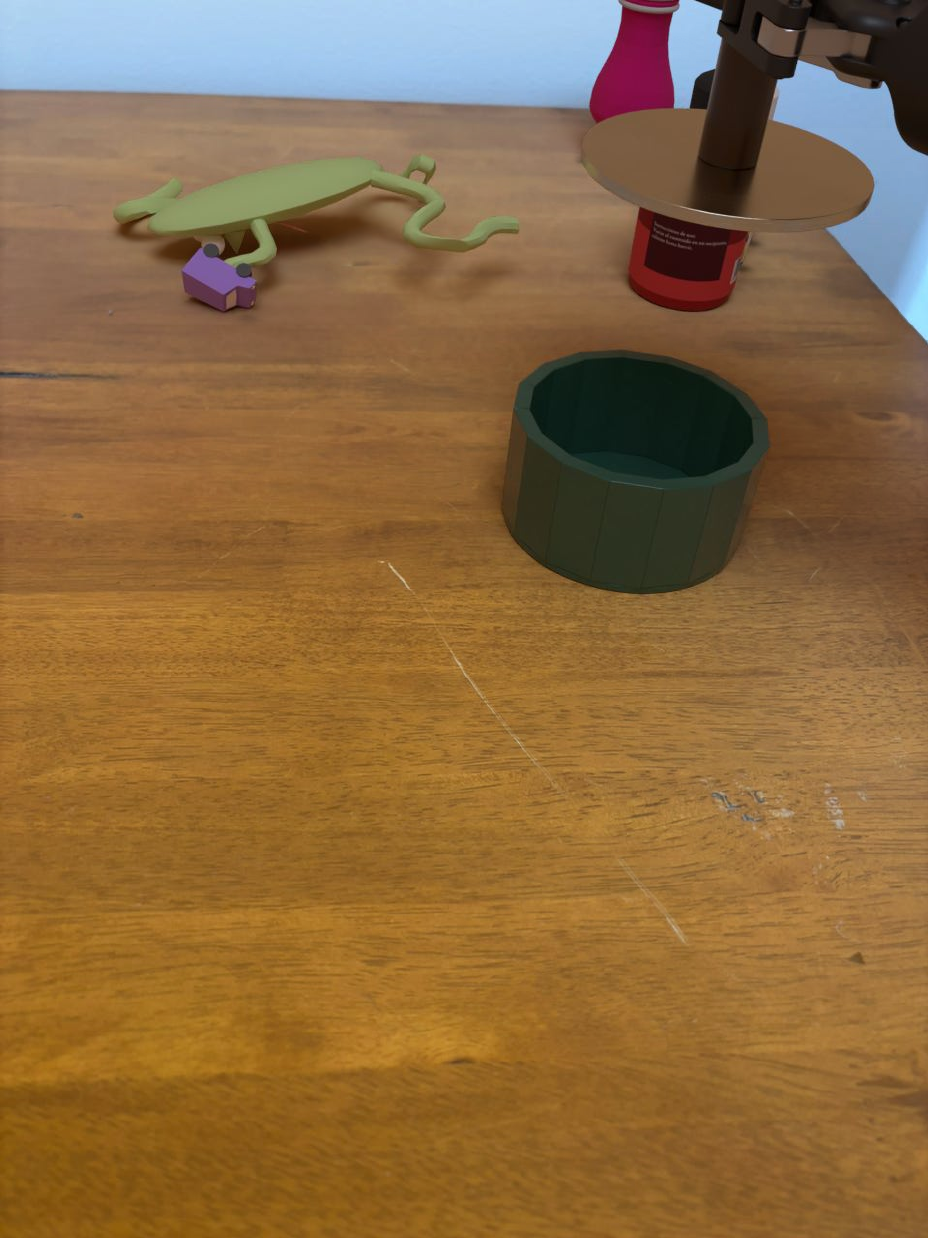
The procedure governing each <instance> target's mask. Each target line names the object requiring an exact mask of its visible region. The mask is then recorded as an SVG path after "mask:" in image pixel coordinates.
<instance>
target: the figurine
mask: <svg viewBox="0 0 928 1238" xmlns="http://www.w3.org/2000/svg"><path fill="white" fill-rule="evenodd" d="M435 161H436V160H435V159H434V158H432V157H429V156H426V155H425V154H422V153H420V154H417V155H414V156H413V157H412V158H411V160H410V161H409V163H408V165H407V167H406V168H405V170H404V171H402V172H401V173H400V174H395V173H390V172H388V171H386V170H385V169H383V165H381V164H380V163H379V162H377V161H376V160H374V159H371V158H370V159H369V158H363V157H361V156H354V157H335V158H321V159H312V160H306V161H300V162H294V163H289V164H284V165H283V164H282V165H277V166H273V167H268V168H265V169H262V170H257V171H253V172H250V173H246V174H243V175H239V176H234V177H232V178H228V179H226V180H223V181H220V182H218V183H214V184H212V185H209V186H205V187H203V188H200V189H198V190H195V191H194V192H191V193H189V194H187V195H185V196H182V197H181V198H177V197H179V196H180V195H181V194H182V193H183V189H184V186H183V183H182V181H181V180H180V179H179V178H178V177H176V176H174V177H172V178H171V179H170V180H169V181H168V182H167V183H166V184H165V185H163V186H162V187H160V188H159V189H157V190H156V191H153V192H152V193H150V194H148V195H146V196H144V197H142V198H136V199H131V200H128V201H125V202H123V203H121V204H118V205H116V206H115V207H114V208H113V210H112V218H113V219H114V220H115V222H116V223H118V224H121V225H122V224H124V225H125V224H126V223H129V222H131V221H135V220H139V219H141V218H144V217H145V216H148V215H151V214H152V216H150V217H149V219H148V224H147V227H146V229H147V230H149V231H150V232H151V233H154V234H155V235H157V236H159V237H160V236H161V237H173V238H193V239H194V240H195V241H196V242H199V243H201V244H200V245H201V247H200V248H199V249H198V250H197V251H196V253H195V254H194V255H193V256H192V257H191V258H190V260H189V261H188V262H187V263H186V264H185V265H184V266H183V268H182V269H181V278H182V283H183V290H184V293H185V294H187V295H190V296H192V297H194V298H196V299H198V300H199V301H201V302H204V303H206V304H207V305H210V306H211V307H213V308H215V309H217V310H220V311H221V312H226V311H228V310H229V309H232V308H234V307H236V306H238V307H242V308H246V309H250V308H251V307H252V306H254V304H255V303H256V302H257V289H258V287H257V286H258V281H257V280H256V279H254V278H253V269H252V268H255V267H259V266H264V265H267V264H268V263H269V262H271V261H272V260H273V259H275V257H276V256H277V252H278V251H277V250H278V249H277V245H276V242H275V239H274V237H273V236H272V233H271V230H270V228H269V225H272V224H279V225H281V226H284V227H288V228H290V229H293V230H295V231H299V232H302V233H308V234H309V233H310V232H309V231H307V230H305V229H303V228H301V227H298V226H295V225H293V224H291V225H290V224H288V223H285V222H282V221H285V220H291V219H298V218H299V217H300V216H304V215H306V214H309V213H312V212H314V211H317V210H320V209H323V208H325V207H328V206H331V205H334V204H336V203H338V202H341V201H342V200H344V199H346V198H348V197H350V196H352V195H355V194H356V193H359V192H360V191H363V190H364V189H367V188H368V187H369V186H371V188H375V189H379V190H383V191H387V192H391V193H396V194H398V195H402V196H406V197H409V198H411V199H414V200H417V201H420V202H422V203H424V204H425V205H424V206H422V207H421V208H419V209H418V210H417V211H416V212H415V213H413V214H412V215H411V216H410V217H409V218H408V219H407V221H406V222H405V223H404V225H403V228H402V233H403V236H402V237H403V239H404V241H405V242H407V244H410V245H411V246H413V247H415V248H417V249H423V250H430V251H437V252H438V251H439V252H452V253H466V252H469V251H472V250H475V249H477V248H479V247H481V246H483V245H485V244H486V243H487V242H488V239H490V238H491V237H492V236H494V235H497V234H511V235H518V234H519V233H520V222H519V219H518V217H517V216H513V215H512V216H509V215H499V216H490V217H486V218H484V219H483V220H482V221H480V222H479V223H477V224H476V225H475V227H474V228H473V229H472V231H470V233H468V235H467V236H465V237H462V238H459V239H457V238H450V237H441V236H435V235H432V234H426V233H424V232H423V231H422V230H423V229H424V228H425V227H426V226H427V225H429V224H430V223H432V222H433V221H434V220H436V219H437V218H439V216H440V215H441V214H443V213H444V211H445V210H446V207H447V206H446V201H445V199H444V197H443V195H442V194H441V193H440V191H438V190H437V189H435V188H434V187H432V186H430V185H428V183H429V182H430V181H431V179H433V176H434V174H435V172H436V170H437V164H436V162H435ZM415 171H418V172H420V173H423V174H424V175H425V177H424V178H423V181H422V182H420V181H417V180H414V179H411V178H410V177H411V174H412V173H414V172H415ZM249 229H250V230H251V233H252V235H253V236H254V238H255V240H256V241H257V243H258V244H259V247H258V248H257V249H255V250H254V251H252V252H249V253H246V254H245V253H244V254H240V255H238V254H239V252H240V248H241V245H242V243H243V239H244V237H245V233H246V231H247V230H249ZM222 235H223V236H224V238H225V239H226V241H227V242H228V244H229V245H230V247H231V248H232V250H233V251H234V253H235V254H236V256H233V257H230V258H229V257H228V258H226V259H225V260H223V259H221V258H220V255H221V254H222V253H223V252H224V250H225V248H226V241H225V239H224V238H223V236H222Z"/></svg>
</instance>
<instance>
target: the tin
mask: <svg viewBox="0 0 928 1238" xmlns="http://www.w3.org/2000/svg"><path fill="white" fill-rule="evenodd" d="M768 421H769V420H768V418H767V416H766V415H765V414H764V413H763V412H762V410H761V409H760V408H759V407H758V405H757V404H756V402H754V400H753V399H752V398H751V397H750V395H749V394H748V393H747V392H745V391H744V390H742V389H741V388H739V387H738V386H736V385H735V384H733V383H731V382H729V381H728V380H726V379H725V378H724V377H722V376H720V375H718V374H717V373H715V372H714V371H713V370H710V369H707V368H704V367H701V366H700V365H699V366H698V365H696V364H693V363H690V362H686V361H684V360H682V359H678V358H675V357H672V356H668V355H662V354H656V353H650V352H642V351H634V350H628V349H607V350H591V351H590V350H589V351H579V352H575V353H572V354H569V355H565V356H563V357H559V358H557V359H553V360H550V361H546V362H544V363H542V364H540V365H539V366H537V368H535V369H534V370H533V371H531V373H530V374H528V375H527V376H526V377H525V378H524V379H523V380H521V381H520V382H519V383H518V387H517V391H516V395H515V399H514V403H513V408H512V415H511V424H510V433H509V441H508V449H507V456H506V457H507V458H506V465H505V475H504V482H503V491H502V498H501V507H502V511H503V512H502V513H503V518H504V521H505V524H506V527H507V529H508V531H509V533H510V535H511V536H512V537H513V539H514V540H515V541H516V542H517V544H518V545H519V547H520V548H522V549H523V550H524V552H526V554H528V555H529V556H530V557H531V558H532V559H534V560H535V561H537V562H538V563H539V564H540V565H542V566H544V567H546V568H547V569H549V570H551V571H552V572H555V573H557V574H558V575H561V576H562V577H564V578H567V579H570V580H572V581H574V582H577V583H579V584H584V585H587V586H589V587H594V588H596V589H602V590H607V591H608V590H609V591H613V592H619V593H627V594H660V593H667V592H668V593H669V592H675V591H680V590H684V589H687V588H691V587H694V586H696V585H699V584H701V583H704V582H706V581H707V580H709V579H711V578H713V577H714V576H716V575H717V574H719V573H720V572H721V571H722V570H723V569H724V568H726V566H727V565H728V564H729V563H730V561H732V558H733V557H734V555H735V553H736V550H737V548H738V547H739V546H740V544H741V542H742V539H743V536H744V532H745V530H746V526H747V522H748V519H749V516H750V513H751V509H752V506H753V503H754V499H755V496H756V493H757V490H758V486H759V483H760V480H761V476H762V473H763V469H764V467H765V463H766V460H767V457H768V453H769V450H770V447H771V445H770V434H769V433H770V432H769V422H768Z"/></svg>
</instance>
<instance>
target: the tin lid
mask: <svg viewBox="0 0 928 1238" xmlns="http://www.w3.org/2000/svg"><path fill="white" fill-rule="evenodd" d="M714 69H715V73H714V78H713V83H712V88H711V93H710V97H709V102H708V107H707V110H706V109H689V108H690V107H689V108H686V107H685V108H683V107H681V108H680V107H677V108H676V107H674V108H667V109H651V110H641V111H635V112H629V113H625V114H620V115H617V116H614V117H611V118H608V119H606V120H604V121H601V122H599V123H598V124H597V123H596V124H595V125H593V126H592V127H590V129H589V130H588V131H587V132H586V133H585V135H584V137H583V141H582V147H581V155H580V156H581V157H580V158H581V162H582V165H583V168H584V169H585V170H586V172H587V174H588V175H589V176H590V177H591V178H592V179H593V180H594V181H595V182H596V183H597V184H599V185H600V186H601V187H603V188H604V189H605V190H607V191H608V192H609V193H612V194H613V195H614V196H616V197H617V198H620V199H622V200H623V201H625V202H628V203H630V204H632V205H634V206H637V207H638V208H639V207H642V208H644V209H647V210H649V211H652V212H655V213H658V214H661V215H664V216H667V217H671V218H675V219H679V220H682V221H686V222H690V223H695V224H700V225H704V226H710V227H716V228H722V229H730V230H739V231H748V232H754V233H776V234H777V233H780V234H781V233H787V234H788V233H801V232H811V231H819V230H823V229H824V230H825V229H827V228H833V227H836V226H840V225H842V224H844V223H848V222H850V221H852V220H854V219H855V218H857V217H859V216H860V215H862V213H864V212H865V211H866V209H867V208H868V206H869V205H870V204H871V199H872V198H873V193H874V189H875V186H876V185H875V178H874V175H873V174H872V171H871V170H870V169H869V167H868V166H867V165H866V164H865V163H864V161H862V160H861V159H860V158H859V157H858V156H857V155H856V154H854V153H852V152H851V151H849V149H847V148H845V147H843V146H841V145H840V144H838V143H836V142H834V141H833V140H829V139H828V138H826V137H823V136H821V135H818V134H817V133H814V132H811V131H808V130H806V129H803V128H801V127H797V126H794V125H791V124H787V123H783V122H781V121H777V120H774V119H773V120H769V119H768V118H769V114H770V110H771V106H772V102H773V98H774V94H775V89H776V86H778V82H779V80H778V79H773V78H771V77H770V76H768V75H766V74H764V73H763V72H761V71H760V70H759V69H758V68H757V67H756V66H754V65H753V64H752V63H751V62H750V61H748V60H747V59H746V58H745V57H744V56H743V55H741V54H740V53H739V52H738V51H737V50H735V49H734V48H733V47H732V46H731V45H730V44H728V43H727V42H726V41H725V40H724V39H722V38H721V39H720V45H719V49H718V55H717V59H716V64H715V68H714Z"/></svg>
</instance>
